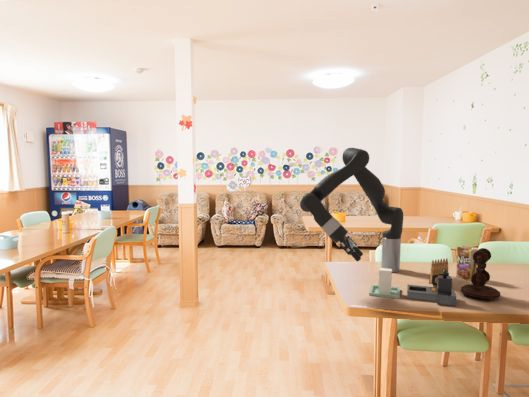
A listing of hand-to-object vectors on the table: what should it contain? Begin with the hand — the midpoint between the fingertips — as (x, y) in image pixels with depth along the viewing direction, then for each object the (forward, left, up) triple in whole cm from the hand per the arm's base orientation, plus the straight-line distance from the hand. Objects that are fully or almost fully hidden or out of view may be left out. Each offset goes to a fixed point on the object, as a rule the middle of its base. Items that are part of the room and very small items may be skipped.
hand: (360, 257), depth 172 cm
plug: (0, +10, -14) cm, 18 cm away
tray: (0, +10, -15) cm, 18 cm away
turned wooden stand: (-12, +48, -15) cm, 52 cm away
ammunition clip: (-24, +33, -15) cm, 44 cm away
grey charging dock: (0, +28, -15) cm, 32 cm away
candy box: (-38, +46, -15) cm, 62 cm away
